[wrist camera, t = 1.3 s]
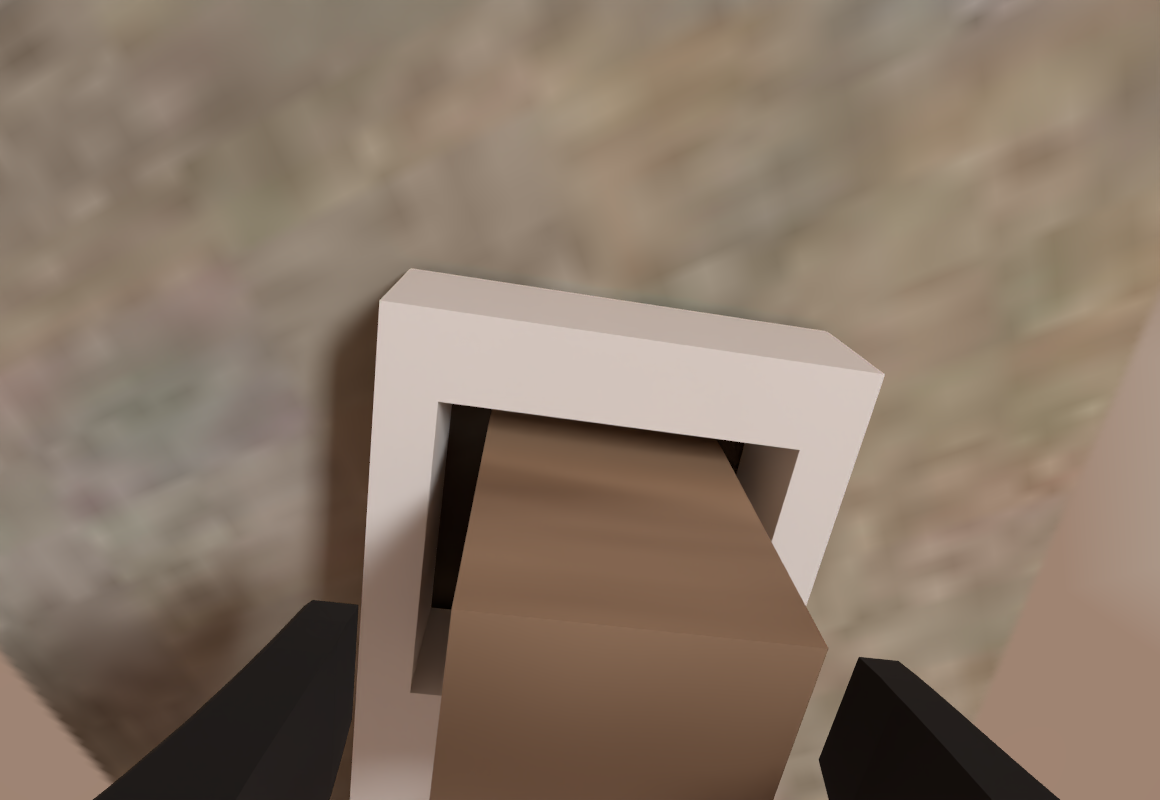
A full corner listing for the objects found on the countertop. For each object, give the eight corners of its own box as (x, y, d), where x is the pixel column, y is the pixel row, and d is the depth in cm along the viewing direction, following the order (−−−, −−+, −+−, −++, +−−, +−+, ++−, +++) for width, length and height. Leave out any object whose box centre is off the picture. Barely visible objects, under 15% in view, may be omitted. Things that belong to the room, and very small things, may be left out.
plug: (665, 600, 16) (737, 897, 10) (470, 580, 15) (420, 876, 9) (709, 425, 14) (828, 649, 8) (494, 396, 14) (452, 608, 8)
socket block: (646, 930, 20) (660, 1047, 17) (362, 913, 19) (334, 1032, 17) (826, 331, 13) (890, 378, 11) (410, 268, 13) (376, 303, 10)
